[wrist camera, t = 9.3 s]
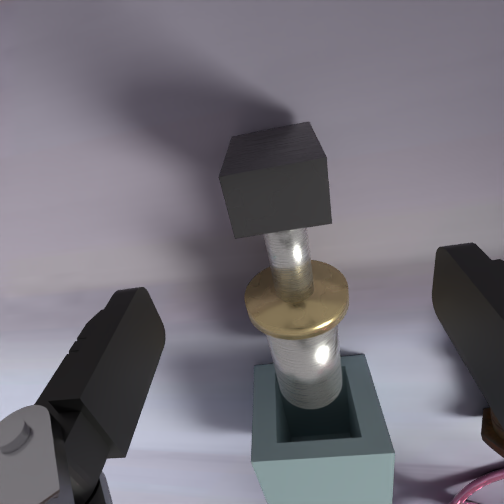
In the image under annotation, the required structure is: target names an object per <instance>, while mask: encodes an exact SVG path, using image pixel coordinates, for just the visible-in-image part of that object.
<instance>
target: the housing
mask: <svg viewBox="0 0 504 504" xmlns="http://www.w3.org/2000/svg"><path fill="white" fill-rule="evenodd" d="M340 358H341V370H342V388H341V391H340V393H339V395H338V396H337V398H336V399H335V400H334V401H333V402H331V403H330V404H328V405H327V406H324V407H322V408H318V409H304V408H300V407H297V406H295V405H293V404H291V403H290V402H289V401H287V400H286V399H285V397H284V396H283V394H282V393H281V390H280V387H279V383H278V379H277V375H276V371H275V367H274V364H265V365H255V366H254V390H253V419H252V448H251V463H252V466H253V468H254V471H255V473H256V476H257V478H258V481H259V483H260V486H261V488H262V491H263V493H264V496H265V498H266V501H267V503H268V504H392V496H393V479H394V461H395V452H394V448H393V445H392V442H391V439H390V435H389V432H388V429H387V426H386V422H385V419H384V416H383V413H382V409H381V406H380V403H379V400H378V396H377V393H376V390H375V386H374V383H373V380H372V377H371V373H370V370H369V367H368V364H367V360H366V357H365V354H363V355H353V356H343V357H340Z"/></svg>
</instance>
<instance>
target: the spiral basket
mask: <svg viewBox="0 0 504 504" xmlns="http://www.w3.org/2000/svg"><path fill="white" fill-rule="evenodd" d="M502 479H504V469H499V470H496V471H493V472H490V473H487V474H485V475H483V476H481V477H479V478H477V479H475V480H473V481H472V482H470V483H469V484H468V485H466V486H465V487H464V488H463V489H462V490H460V491H459V492H458V493H457V495H456V496H455V497H454V498H453V499H452V501H451V502H450V503H449V504H478V503H473V502H467V501H465V500H466V499H467V498H468V497H469V496H470V495H472V494H473V493H474V492H476V491H477V490H479V489H480V488H482V487H484V486H486V485H488V484H490V483H493V482H496V481H499V480H502Z"/></svg>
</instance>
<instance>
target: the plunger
mask: <svg viewBox="0 0 504 504" xmlns="http://www.w3.org/2000/svg"><path fill="white" fill-rule="evenodd" d="M219 180H220V183H221V187H222V191H223V195H224V199H225V202H226V206H227V210H228V214H229V218H230V221H231V225H232V229H233V233H234V237H235V239H236V238H242V237H248V236H255V235H261V234H264V239H265V244H266V248H267V253H268V258H269V263H270V267H268V268H266V269H264V270H263V271H261V272H260V273H259V274H257V275H256V276H255V277H254V278H253V279H252V280H251V282H250V283H249V284H248V286H247V288H246V291H245V304H246V308H247V312H248V315H249V318H250V320H251V322H252V323H253V325H254V326H255V327H256V328H257V329H258V330H260V331H261V332H263V333H265V334H266V335H267V339H268V343H269V347H270V351H271V355H272V359H273V363H274V367H275V371H276V375H277V379H278V383H279V387H280V390H281V393H282V394H283V396H284V397H285V399H286V400H287V401H289V402H290V403H291V404H293V405H295V406H297V407H300V408H304V409H318V408H322V407H324V406H327V405H328V404H330V403H331V402H333V401H334V400H335V399H336V398H337V396H338V395H339V393H340V391H341V388H342V370H341V358H340V347H339V335H338V323H340V321H341V320H342V319H343V318H344V316H345V314H346V312H347V310H348V306H349V294H348V284H347V281H346V279H345V277H344V276H343V274H342V273H341V272H340V271H339V270H337V269H336V268H334V267H333V266H331V265H329V264H326V263H323V262H320V261H315V260H311V258H310V250H309V243H308V235H307V227H313V226H319V225H326V224H332V218H331V206H330V194H329V181H328V169H327V157H326V155H325V153H324V151H323V149H322V147H321V145H320V143H319V141H318V139H317V137H316V135H315V133H314V131H313V128H312V126H311V124H310V122H304V123H299V124H294V125H289V126H284V127H279V128H274V129H269V130H264V131H259V132H254V133H249V134H244V135H239V136H233V137H232V138H231V141H230V144H229V147H228V150H227V153H226V157H225V160H224V163H223V166H222V169H221V172H220V175H219Z"/></svg>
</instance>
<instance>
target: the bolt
mask: <svg viewBox="0 0 504 504" xmlns="http://www.w3.org/2000/svg"><path fill="white" fill-rule="evenodd" d="M473 379H474V378H473ZM481 436H482V440H483V441H484V442H485V443H486V444H487V445H488V446H489V447H491V448H492V449H493V450H494V451H496V452H497V453H498V454H499V455H501V456H502V457H503V458H504V429H503V428H502V426H501V424H500V423H499V421H498V419H497V417H496V416H495V414H494V412H493V411H492V409H491V407H489V408H485V409H483V418H482V429H481Z"/></svg>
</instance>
